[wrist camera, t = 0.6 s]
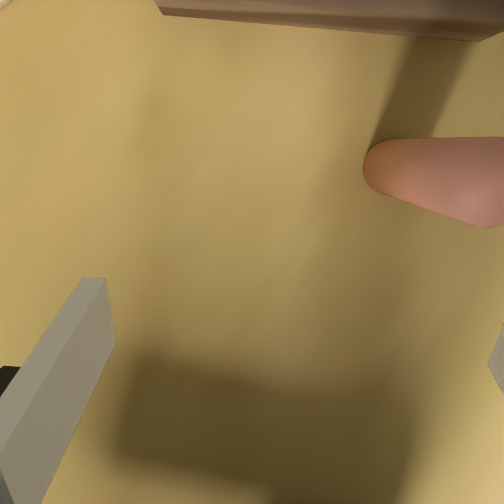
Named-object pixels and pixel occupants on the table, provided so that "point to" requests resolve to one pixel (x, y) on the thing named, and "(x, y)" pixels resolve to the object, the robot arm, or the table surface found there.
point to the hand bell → (4, 3)
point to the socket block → (358, 15)
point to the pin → (442, 176)
